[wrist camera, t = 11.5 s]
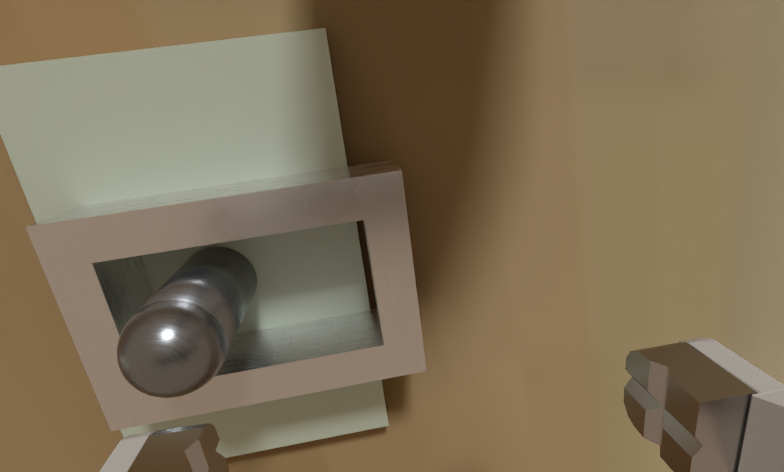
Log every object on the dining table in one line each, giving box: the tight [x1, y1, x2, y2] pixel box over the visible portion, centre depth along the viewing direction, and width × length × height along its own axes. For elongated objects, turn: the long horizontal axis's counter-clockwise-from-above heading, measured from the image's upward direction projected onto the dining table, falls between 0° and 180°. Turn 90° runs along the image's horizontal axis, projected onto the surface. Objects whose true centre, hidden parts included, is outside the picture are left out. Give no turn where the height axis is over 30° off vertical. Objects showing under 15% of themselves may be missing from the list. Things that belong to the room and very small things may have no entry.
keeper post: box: [117, 247, 257, 398], centre depth 14 cm, size 3×3×6 cm
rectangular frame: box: [26, 160, 427, 431], centre depth 16 cm, size 12×8×3 cm, turn 98°
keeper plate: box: [0, 28, 389, 458], centre depth 18 cm, size 12×18×1 cm, turn 8°
